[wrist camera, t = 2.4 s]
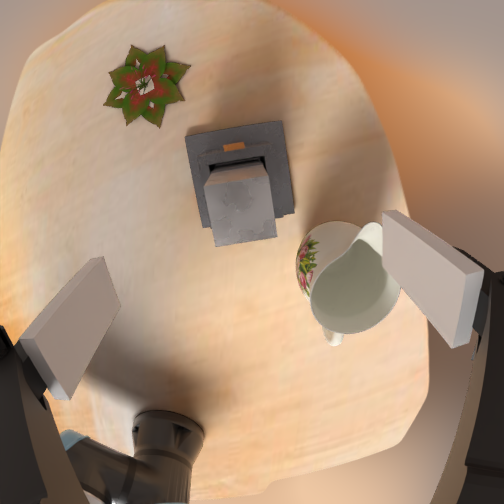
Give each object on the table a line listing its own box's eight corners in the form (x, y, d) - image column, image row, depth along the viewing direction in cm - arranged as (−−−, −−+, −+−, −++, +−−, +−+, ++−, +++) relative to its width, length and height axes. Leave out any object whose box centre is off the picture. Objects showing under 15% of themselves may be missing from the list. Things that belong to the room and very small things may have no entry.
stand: (203, 225, 43) (194, 252, 34) (185, 136, 38) (170, 139, 30) (293, 211, 42) (307, 234, 34) (280, 120, 38) (292, 118, 29)
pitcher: (281, 309, 48) (295, 370, 35) (295, 188, 41) (319, 217, 29) (350, 309, 49) (381, 366, 36) (372, 195, 42) (421, 226, 29)
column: (225, 196, 40) (214, 248, 24) (218, 159, 38) (201, 185, 22) (262, 190, 40) (278, 238, 23) (256, 153, 38) (269, 173, 22)
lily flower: (166, 143, 39) (158, 145, 35) (91, 112, 37) (76, 112, 32) (208, 61, 35) (203, 53, 31) (128, 33, 33) (117, 24, 29)
